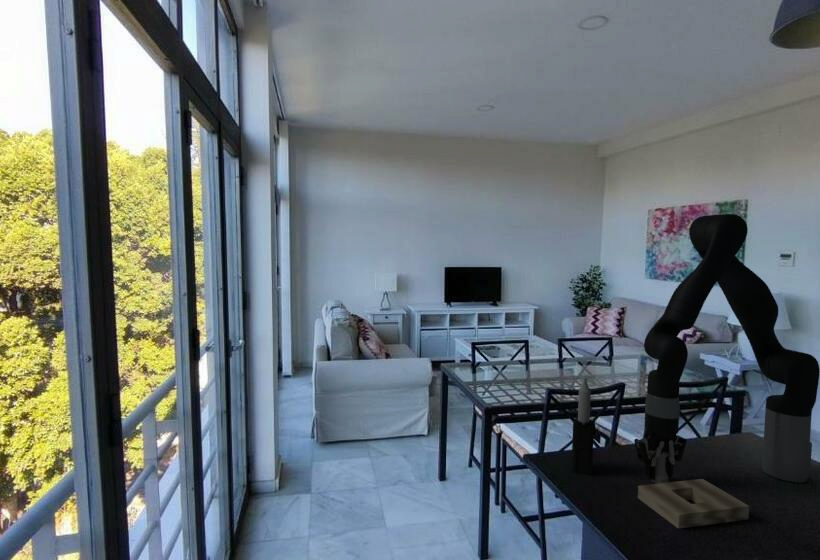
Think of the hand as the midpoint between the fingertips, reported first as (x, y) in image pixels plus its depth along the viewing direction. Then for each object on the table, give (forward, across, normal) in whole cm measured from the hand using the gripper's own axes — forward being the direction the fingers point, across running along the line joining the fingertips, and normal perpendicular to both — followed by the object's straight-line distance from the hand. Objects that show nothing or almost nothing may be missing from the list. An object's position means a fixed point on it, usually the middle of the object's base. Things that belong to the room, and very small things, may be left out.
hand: (658, 477), depth 113 cm
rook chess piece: (+1, 0, 0) cm, 1 cm away
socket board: (+1, +2, +12) cm, 12 cm away
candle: (+1, +16, -9) cm, 18 cm away
